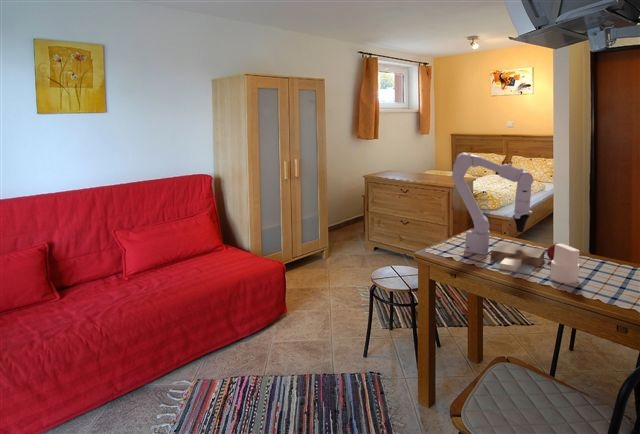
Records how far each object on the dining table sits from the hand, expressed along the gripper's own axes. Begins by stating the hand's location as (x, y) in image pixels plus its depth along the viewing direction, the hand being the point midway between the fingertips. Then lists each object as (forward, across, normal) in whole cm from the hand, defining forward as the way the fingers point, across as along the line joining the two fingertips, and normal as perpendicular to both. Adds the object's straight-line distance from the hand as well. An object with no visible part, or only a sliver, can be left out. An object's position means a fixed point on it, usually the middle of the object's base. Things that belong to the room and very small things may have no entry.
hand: (520, 231), depth 187 cm
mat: (+10, -18, -3) cm, 21 cm away
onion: (+10, -2, -14) cm, 18 cm away
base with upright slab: (+10, -20, -21) cm, 31 cm away
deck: (+10, -7, -2) cm, 12 cm away
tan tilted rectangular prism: (+10, -18, -2) cm, 21 cm away
